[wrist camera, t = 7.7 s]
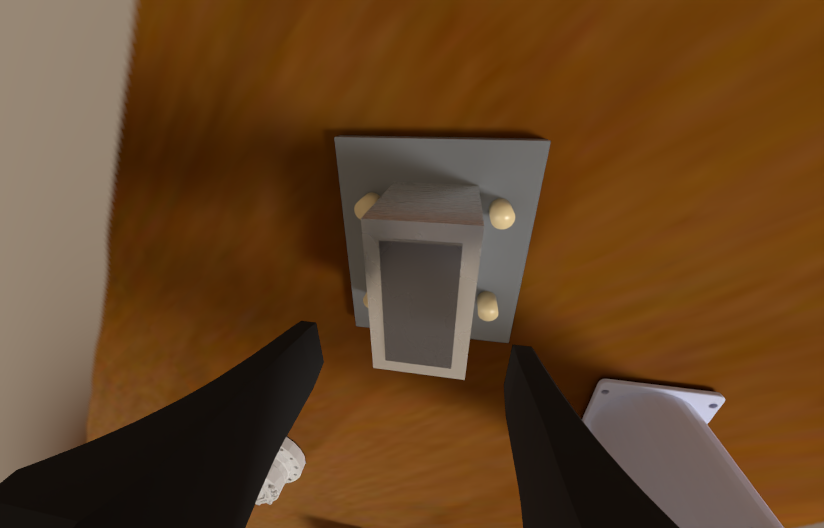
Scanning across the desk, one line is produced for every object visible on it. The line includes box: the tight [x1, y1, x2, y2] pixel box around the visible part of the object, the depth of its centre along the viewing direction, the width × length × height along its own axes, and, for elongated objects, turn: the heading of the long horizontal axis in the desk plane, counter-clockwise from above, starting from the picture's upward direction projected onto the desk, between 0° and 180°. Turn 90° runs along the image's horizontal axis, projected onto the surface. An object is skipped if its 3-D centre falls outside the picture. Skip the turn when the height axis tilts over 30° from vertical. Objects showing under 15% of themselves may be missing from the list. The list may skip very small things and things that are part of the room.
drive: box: [361, 182, 484, 380], centre depth 15 cm, size 8×5×6 cm, turn 0°
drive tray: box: [334, 135, 551, 343], centre depth 18 cm, size 13×11×2 cm
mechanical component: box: [255, 437, 306, 505], centre depth 33 cm, size 10×4×10 cm
